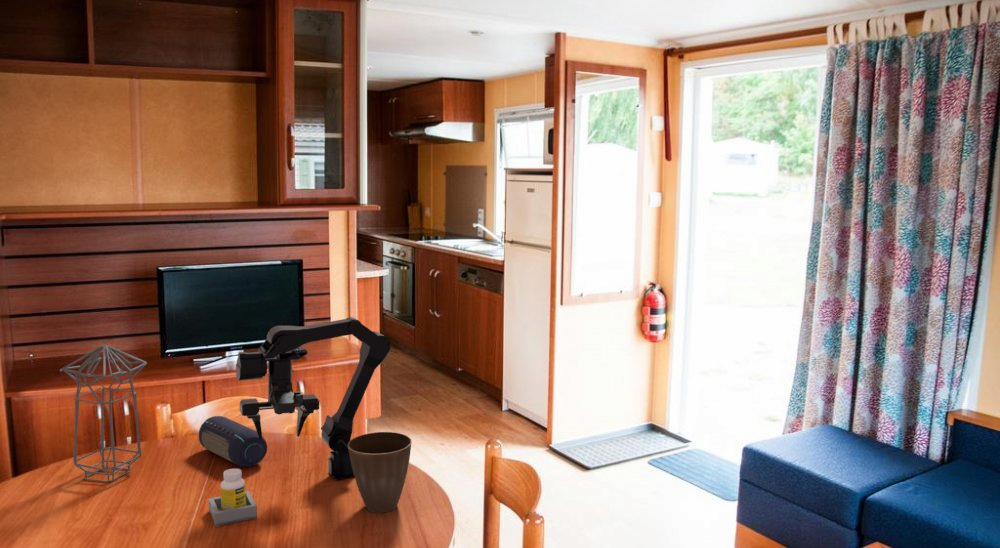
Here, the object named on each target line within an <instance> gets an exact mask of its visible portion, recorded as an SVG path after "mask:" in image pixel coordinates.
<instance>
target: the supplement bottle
mask: <svg viewBox="0 0 1000 548" xmlns="http://www.w3.org/2000/svg"><path fill="white" fill-rule="evenodd" d="M245 492H246V481H245V479H243V477H242V469H240V468H229V469H225V470H224V471H223V480H222V481H221V483H220V496H221V511H223V510H228V509H233V508H239V507H244V506H246V500H245Z"/></svg>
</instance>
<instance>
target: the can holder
mask: <svg viewBox="0 0 1000 548" xmlns="http://www.w3.org/2000/svg"><path fill="white" fill-rule="evenodd" d="M245 500H246V506H244V507H239V508H233V509H228V510H223V511H221V495H220V496H215V497H211V498H208V511H209V513H210V516H211V519H212V521H213V524H214V526H215V527H219V526H220V527H221V526H226V525H230V524H234V523H239V522H244V521H249V520H254V519H258V505H257V503H256V501H255V500H254V498H253V496H252V494H251V492H250V491H248V490H247V491H245Z"/></svg>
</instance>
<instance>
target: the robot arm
mask: <svg viewBox="0 0 1000 548" xmlns="http://www.w3.org/2000/svg"><path fill="white" fill-rule="evenodd" d="M350 335H351V336H353V337H354V338H356V339H357V340H358V341H360V343H361V346H360V348H359V357H358V358H359V360H358V364H357V366H356V368H355V371H354V373H353V375H352V377H351V380H350V382H349V384H348V386H347V388H346V391H345V393H344V396H343V398H342V400H341V403H340V405H339V407H338V409H337V411H336V412H335V413H334V414H333V415H331V416H330V415H328V414H327V415H326V417H325V421H324V424H322V426H321V427H320V429H321V439H322V441H323V442H324V443H325V444H326V446H328V448H329V449H330V450H331V451H330V452H329V453H330V455H329V456H330V457H328V473H329V475H330V476H332V478H333V479H334V480H335V481H339V480H344V479H348V478H355V477H354V473H353V469H352V465H351V461H350V456H349V450H348V443H349V441H350V440H352V434H353V429H354V428H353V427H354V419H355V416H356V413H357V411H358V409H359V406H360V404H361V402H362V400H363V398H364V396H365V393H366V390H367V388H368V386H369V384H370V383H371V382H370V381H371V379H372V378H373V375H374V373H375V370H376V369H377V368H378V367H379V366H380V365H381V364H382V363H383V362H384V361H385V359H386V358H387V356H388V354H389V353H390V351H391V348H392V343H391V340H390V339H389V338H388V337H387V336H386V335H384V334H382V333H380V332H378V331H375V330H374V331H373V330H371V329H370V328H368V327H367V326H365V325H364V324H363V323H362V322H361V321H360V320H359V319H357V318H355V317H352V316H350V317H346V318H344V319H343V318H342V319H337V320H332V321H327V322H321V323H317V324H316V323H314V324H310V325H305V326H297V325H275V326H273V327H271V328H270V329H269V330H268V332H267V335H266V338H265V340H264V342H262V344H261V345H260V347H259V348H258V350H257V351H250V352H245V351H239V352H238V353H237V359H236V363H235V376H236V379H237V381H252V380H262V379H263V377H266V375H267V379H268V380H267V401H258V400H257V398H244V399H241V400H240V402H239V412H240V414H241V416H243V417H246V418H247V419H249V420H250V419H251V420H252V422H253V424H254V427H255V431H257V433H258V436H259V439H260V440H262V436H263V432H262V424H261V415H260V413H259V412H260V411H263V410H274V411H273V412H274V414H275V415H282V414H293V413H295V410H296V408H297V419H296V420H297V421H296V436H297V437H300V436H301V433H302V430H303V427H304V424H305V422H306V420H307V418H308V417H309V415H311V414H314V413H315V411H319V410H320V400H319V399H318V397H317V396H316V395H315V394H314V393H311V394H304V393H303V391H295V392H294V390H293V361H295V360H300V359H302V358H301V356H300V355H299V354H298V353H297V352H296V350H297V349H298V348H301V347H302V346H304V345H306V344H309V343H314V342H319V341H323V340H330V339H335V338H338V337H346V336H350Z"/></svg>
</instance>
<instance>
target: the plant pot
mask: <svg viewBox="0 0 1000 548" xmlns="http://www.w3.org/2000/svg"><path fill="white" fill-rule="evenodd" d="M412 442H413V441H412V438H411V437H410V436H408V435H406V434H405V433H404V434H403V433H400V432H392V431H376V432H370V433H365V434H360V435H358V436H355V437H353V438H351V440H350V441H349V443H348V450H349V456H350V461H351V465H352V469H353V473H354V477H353V478H354V479H355V482H356V485H357V488H358V492H359V494H360V497H361V499H362V502H363V504H364V506H365V508H366V510H368V511H370V512H372V513H378V514H381V513H388V512H391V511H393V510H395V509H396V508H397V506H398V504H399V502H400V499H401V496H402V494H403V493H402V492H403V489H404V486H405V482H406V478H407V474H408V470H409V463H410V458H411V450H412Z"/></svg>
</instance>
